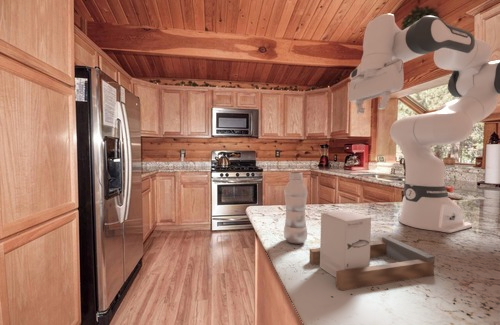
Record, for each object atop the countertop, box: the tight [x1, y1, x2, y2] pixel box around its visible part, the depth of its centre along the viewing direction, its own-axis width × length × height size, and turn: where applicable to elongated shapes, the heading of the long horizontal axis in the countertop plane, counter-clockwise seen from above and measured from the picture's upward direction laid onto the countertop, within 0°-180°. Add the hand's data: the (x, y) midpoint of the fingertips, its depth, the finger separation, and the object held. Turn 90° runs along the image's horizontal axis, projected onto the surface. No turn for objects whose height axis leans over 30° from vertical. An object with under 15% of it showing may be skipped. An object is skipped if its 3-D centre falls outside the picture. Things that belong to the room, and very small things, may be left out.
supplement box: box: [319, 209, 372, 279], centre depth 52 cm, size 7×7×13 cm
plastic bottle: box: [283, 171, 308, 245], centre depth 68 cm, size 6×7×20 cm
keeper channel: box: [309, 236, 436, 291], centre depth 53 cm, size 22×12×4 cm, turn 104°
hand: (370, 111), depth 77 cm, fingers open, 8 cm apart
